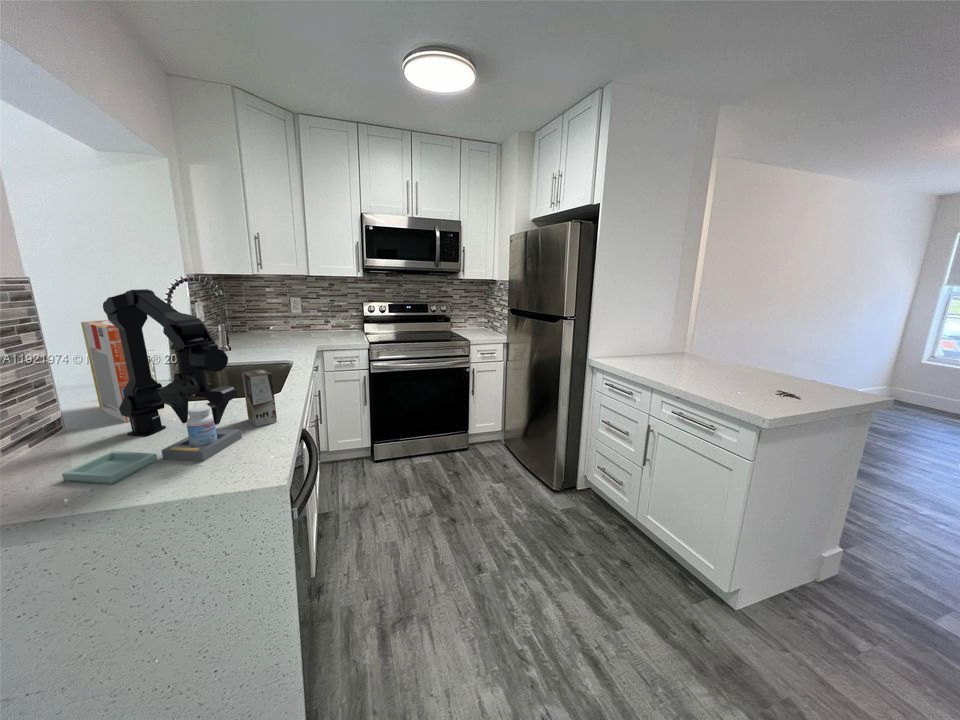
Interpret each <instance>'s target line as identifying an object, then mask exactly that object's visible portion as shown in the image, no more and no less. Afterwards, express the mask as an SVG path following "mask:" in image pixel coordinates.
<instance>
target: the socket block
mask: <svg viewBox="0 0 960 720" xmlns="http://www.w3.org/2000/svg"><path fill="white" fill-rule="evenodd" d="M216 433H217V439H218V440H216V441H214V442H212V443H211V444H209V445H207V446H192V445H190V442H189V436H187V437H185V438H182V439H181V440H179V441H177V442H175V443H173V444H171V445H168V446H167V447H165V448H163V449H161V456H162V460H172V461H189V462H190V461H193V462H205V461H207V460H208V459H210V458H212V457H213V456H215V455H217V454H218V453H220V452H221V451H223V450H225V449H227V448H228V447H229V446H231V445H233V444H234V443H236V442H238V441H240V440H241V439H242V438H243V434H242V429H231V428H230V429H226V428H216Z"/></svg>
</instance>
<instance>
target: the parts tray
mask: <svg viewBox="0 0 960 720" xmlns="http://www.w3.org/2000/svg"><path fill="white" fill-rule="evenodd" d="M156 462H158V456H157V453H151V452H149V453H148V452H133V451H114V450H112V451H109V452H106V453H105V454H103V455H100V456H98V457H96V458H94V459H92V460H89V461H86V462H84V463H83V464H81V465H80V464H79V465H77V466H75V467H74V468H71V469H69V470H67V471H65V472H62V473H61V475H62V478H63V482H65V481H68V483H81V484H98V485H99V484H100V485H115V484H116V483H117V484H118V482H121V481H122V480H124V479H126V478H128V477H130V476H132V475H134V474H135V473H138V472H139V471H142V470H143V469H145V468H148V466H151V465H152V464H155V463H156Z"/></svg>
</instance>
